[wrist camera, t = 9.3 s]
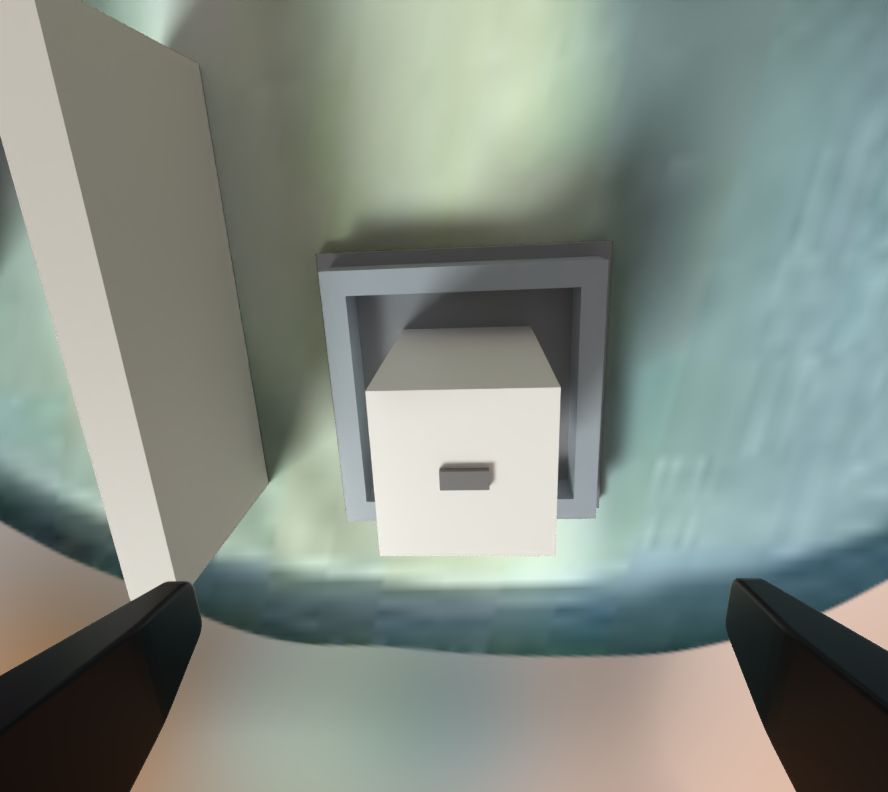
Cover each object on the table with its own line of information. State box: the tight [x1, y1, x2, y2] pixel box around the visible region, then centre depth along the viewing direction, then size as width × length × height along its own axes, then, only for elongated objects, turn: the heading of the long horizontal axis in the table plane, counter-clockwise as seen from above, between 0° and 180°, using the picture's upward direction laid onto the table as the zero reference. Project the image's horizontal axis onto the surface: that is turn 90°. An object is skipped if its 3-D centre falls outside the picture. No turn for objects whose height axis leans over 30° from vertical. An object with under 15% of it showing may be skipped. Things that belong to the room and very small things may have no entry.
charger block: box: [365, 326, 561, 556], centre depth 16 cm, size 4×4×7 cm
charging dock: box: [316, 241, 613, 521], centre depth 19 cm, size 10×10×2 cm
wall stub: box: [0, 0, 269, 600], centre depth 16 cm, size 2×15×7 cm, turn 3°
